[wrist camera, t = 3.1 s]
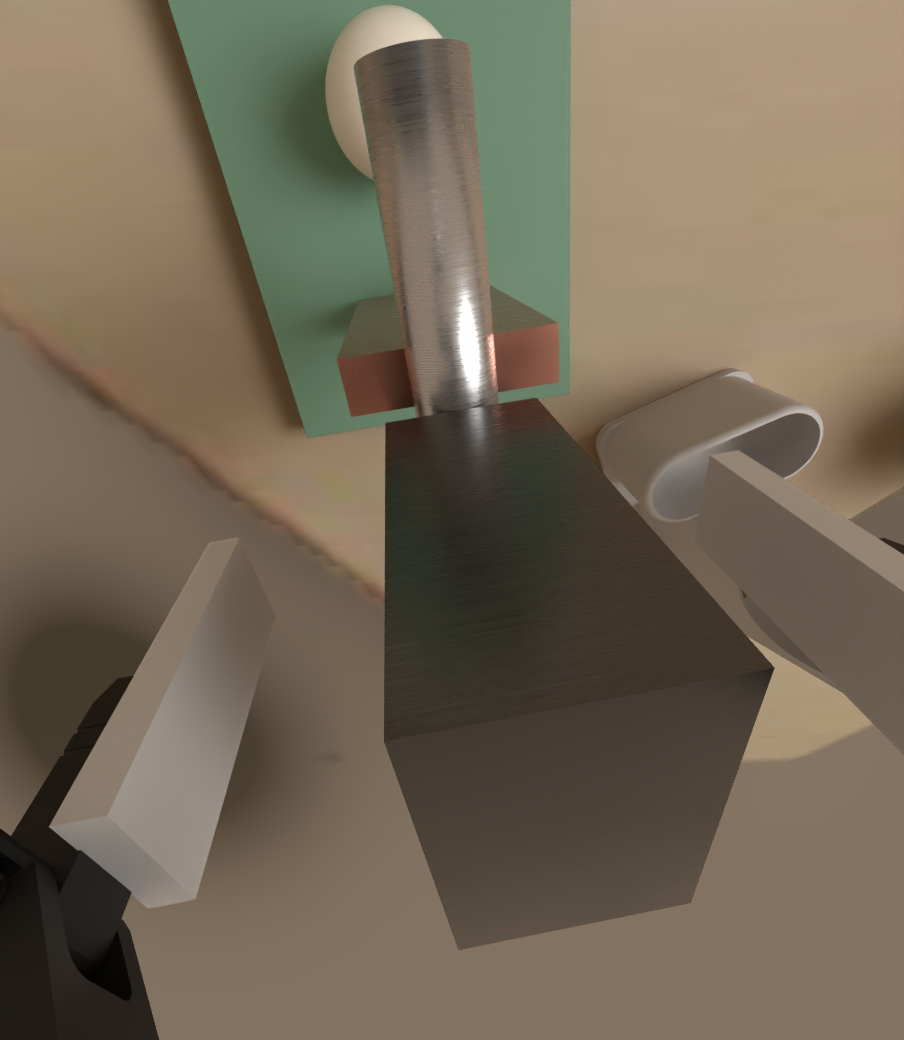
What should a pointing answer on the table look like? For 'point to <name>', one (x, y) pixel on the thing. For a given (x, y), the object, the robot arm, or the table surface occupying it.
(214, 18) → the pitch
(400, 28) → the ball
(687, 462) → the phone holder
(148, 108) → the table surface
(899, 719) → the robot arm
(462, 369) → the multicoloured piece
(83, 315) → the table surface
